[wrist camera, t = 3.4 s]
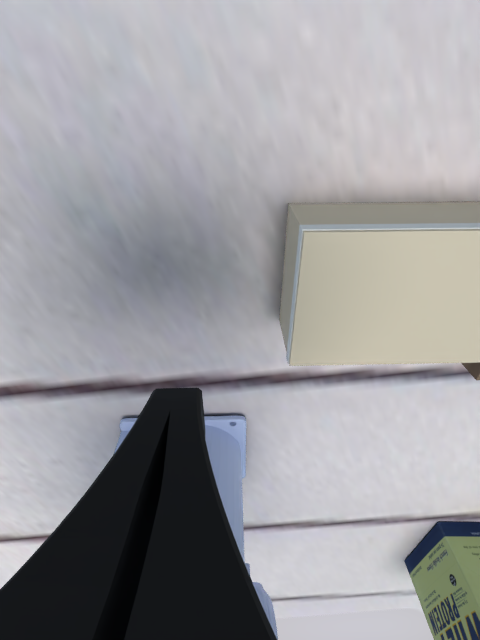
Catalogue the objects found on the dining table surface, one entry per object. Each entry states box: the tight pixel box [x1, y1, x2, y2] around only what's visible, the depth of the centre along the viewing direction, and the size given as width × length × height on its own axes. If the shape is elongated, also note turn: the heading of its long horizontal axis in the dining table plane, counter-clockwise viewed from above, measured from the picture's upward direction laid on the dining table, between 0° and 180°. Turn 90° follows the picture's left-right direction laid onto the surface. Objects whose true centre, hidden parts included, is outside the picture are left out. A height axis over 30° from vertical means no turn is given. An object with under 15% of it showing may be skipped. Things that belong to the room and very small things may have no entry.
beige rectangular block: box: [279, 202, 480, 366], centre depth 17 cm, size 10×7×4 cm
